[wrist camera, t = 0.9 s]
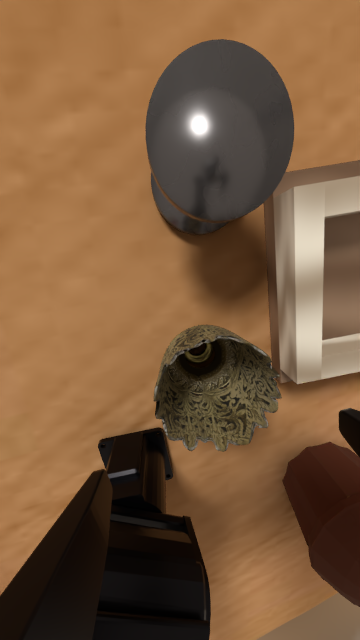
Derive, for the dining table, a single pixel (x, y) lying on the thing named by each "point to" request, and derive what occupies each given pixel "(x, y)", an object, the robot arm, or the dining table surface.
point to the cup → (214, 388)
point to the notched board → (333, 260)
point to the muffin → (329, 513)
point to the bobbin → (217, 135)
